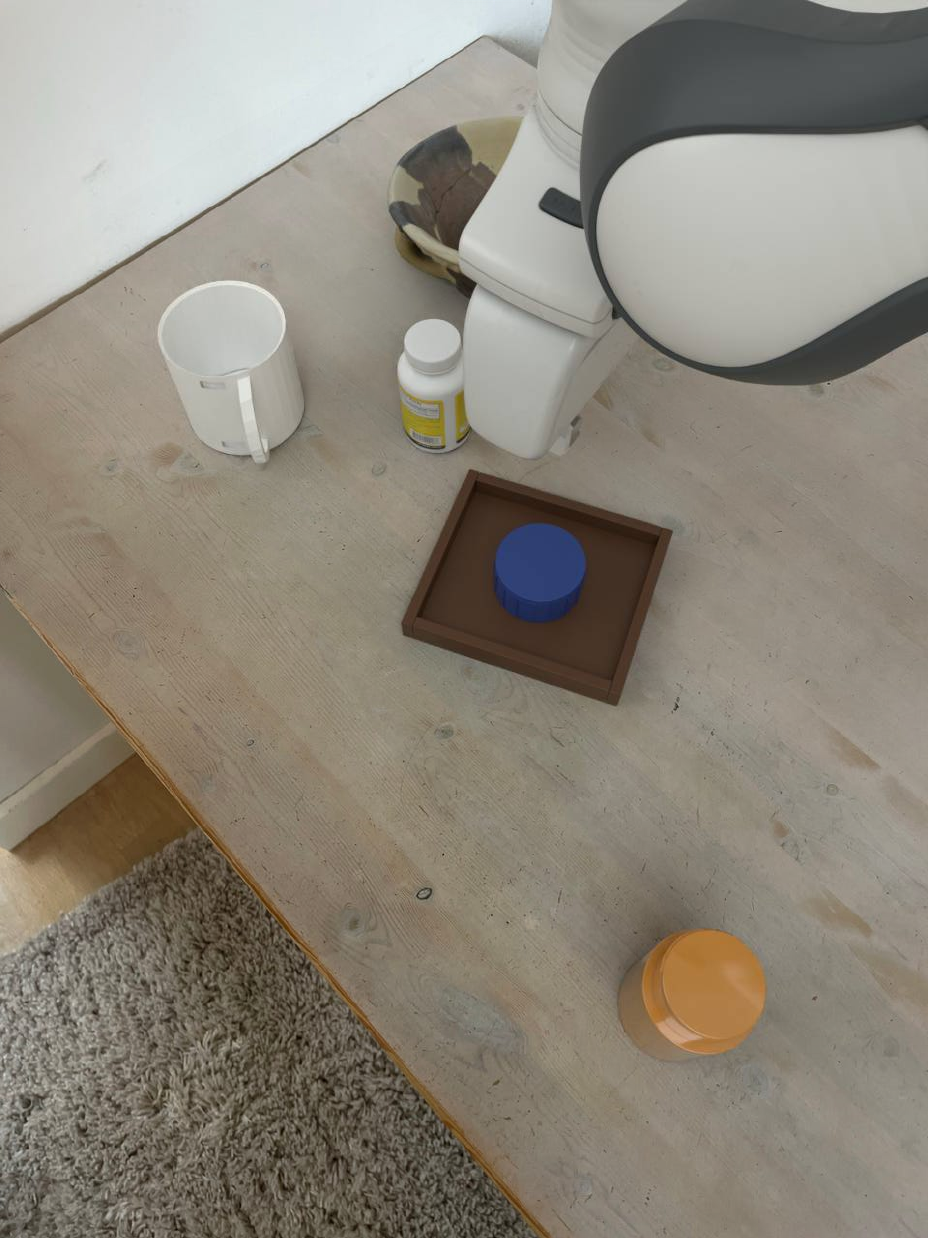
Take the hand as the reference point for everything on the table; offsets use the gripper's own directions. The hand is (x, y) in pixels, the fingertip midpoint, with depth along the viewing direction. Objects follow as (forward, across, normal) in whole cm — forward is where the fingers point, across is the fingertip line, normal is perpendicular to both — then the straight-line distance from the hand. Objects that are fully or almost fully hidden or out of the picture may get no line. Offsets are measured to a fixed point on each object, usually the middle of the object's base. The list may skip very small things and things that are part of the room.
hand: (605, 380), depth 51 cm
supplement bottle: (+22, -6, -16) cm, 28 cm away
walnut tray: (+22, +2, -2) cm, 22 cm away
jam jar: (+22, +21, +20) cm, 36 cm away
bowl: (+22, -22, -22) cm, 38 cm away
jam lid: (+21, +2, -2) cm, 22 cm away
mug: (+22, +2, -28) cm, 36 cm away
